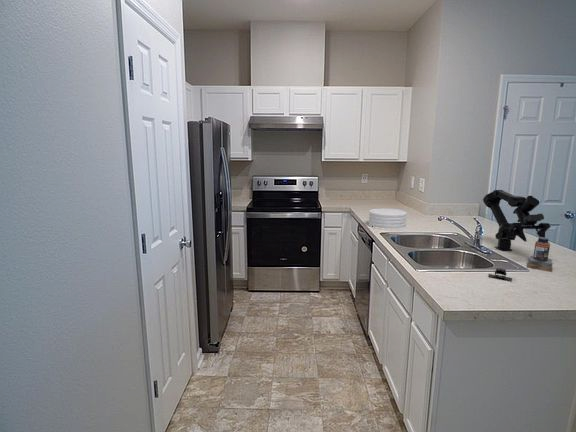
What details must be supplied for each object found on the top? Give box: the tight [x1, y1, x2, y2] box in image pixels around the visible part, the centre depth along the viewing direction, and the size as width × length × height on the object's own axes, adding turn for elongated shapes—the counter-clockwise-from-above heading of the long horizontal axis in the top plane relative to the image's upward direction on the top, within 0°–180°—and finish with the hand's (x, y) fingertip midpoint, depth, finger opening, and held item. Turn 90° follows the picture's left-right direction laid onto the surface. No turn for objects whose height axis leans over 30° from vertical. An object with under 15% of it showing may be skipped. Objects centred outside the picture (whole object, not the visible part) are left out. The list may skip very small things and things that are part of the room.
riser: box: [526, 255, 554, 273], centre depth 168 cm, size 10×10×4 cm
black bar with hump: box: [487, 267, 513, 282], centre depth 154 cm, size 12×7×5 cm, turn 55°
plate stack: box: [368, 207, 408, 229], centre depth 258 cm, size 28×28×12 cm
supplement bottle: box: [532, 236, 551, 261], centre depth 166 cm, size 6×6×11 cm
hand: (534, 241), depth 171 cm, fingers open, 9 cm apart
